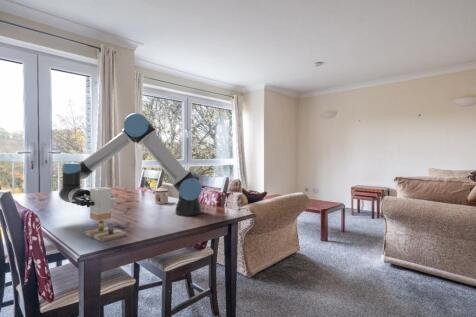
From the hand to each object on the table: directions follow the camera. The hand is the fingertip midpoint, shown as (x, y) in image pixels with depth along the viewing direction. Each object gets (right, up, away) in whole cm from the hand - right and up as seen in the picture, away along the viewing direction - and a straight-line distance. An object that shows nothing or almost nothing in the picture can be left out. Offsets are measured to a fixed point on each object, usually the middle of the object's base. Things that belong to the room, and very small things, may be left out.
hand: (107, 203), depth 115 cm
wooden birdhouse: (+3, -12, +73) cm, 74 cm away
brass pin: (-4, -12, +3) cm, 13 cm away
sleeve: (-4, -7, +3) cm, 9 cm away
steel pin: (+2, -13, -1) cm, 13 cm away
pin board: (-2, -14, +2) cm, 14 cm away
